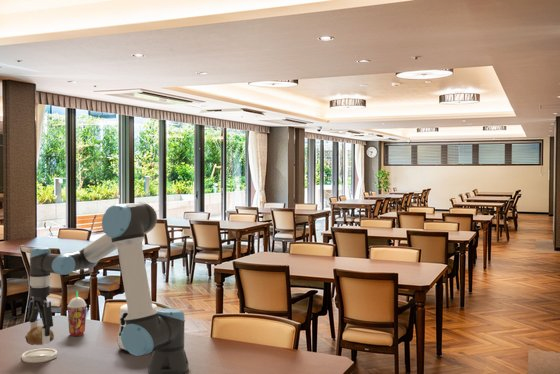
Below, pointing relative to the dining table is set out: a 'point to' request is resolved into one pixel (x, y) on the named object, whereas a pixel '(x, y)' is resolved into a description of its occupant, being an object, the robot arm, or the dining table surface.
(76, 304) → the smoothie
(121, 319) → the milk container
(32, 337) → the bread roll
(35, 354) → the plate
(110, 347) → the dining table surface
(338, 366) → the dining table surface
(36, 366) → the dining table surface
